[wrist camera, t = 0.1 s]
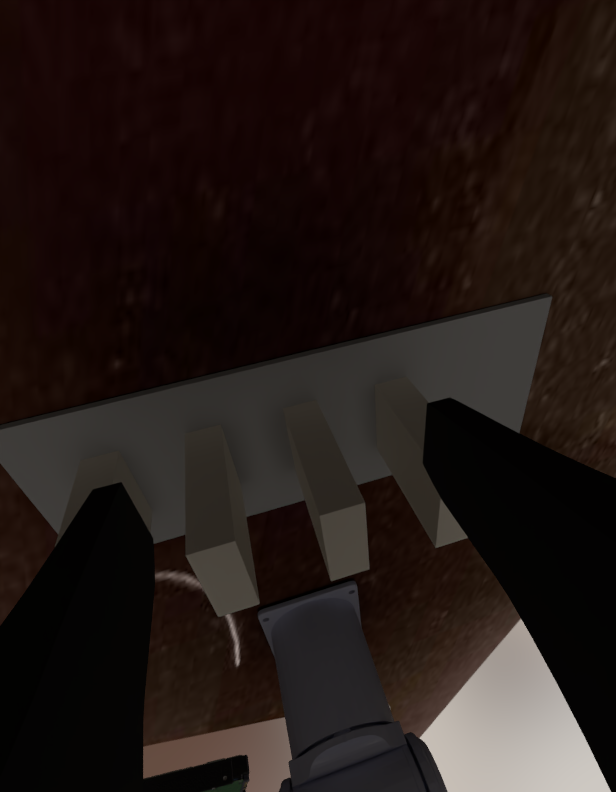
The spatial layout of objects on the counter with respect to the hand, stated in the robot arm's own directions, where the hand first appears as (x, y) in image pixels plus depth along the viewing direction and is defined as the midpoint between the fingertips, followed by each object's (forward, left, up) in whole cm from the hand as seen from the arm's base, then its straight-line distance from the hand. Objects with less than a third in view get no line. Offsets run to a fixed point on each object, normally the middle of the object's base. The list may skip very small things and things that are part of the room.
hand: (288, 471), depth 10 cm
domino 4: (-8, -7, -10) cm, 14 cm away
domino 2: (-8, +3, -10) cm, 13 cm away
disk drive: (-58, +20, -11) cm, 62 cm away
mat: (-8, -2, -10) cm, 13 cm away
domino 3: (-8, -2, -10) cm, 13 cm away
